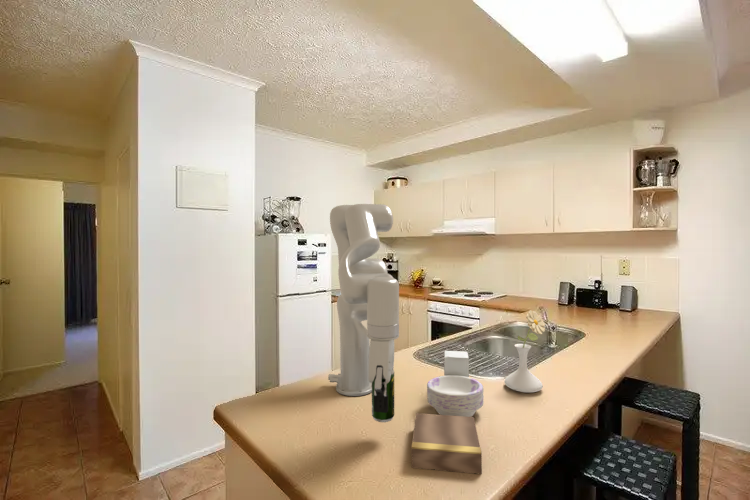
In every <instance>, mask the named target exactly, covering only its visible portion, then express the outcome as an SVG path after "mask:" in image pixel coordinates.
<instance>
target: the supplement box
mask: <svg viewBox="0 0 750 500" xmlns="http://www.w3.org/2000/svg"><path fill="white" fill-rule="evenodd" d="M443 352H444V355H443V356H444V357H443V358H444V359H443V361H444V362H443V365H444V366H443V367H444V368H443V373H444V374H443V376H447V375H457V376H465V377H469V378H470V367H469V366H470V362H469V361H470V357H469V353H468V351H462V350H461V351H459V350H444V351H443Z"/></svg>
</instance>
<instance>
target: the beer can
mask: <svg viewBox="0 0 750 500" xmlns="http://www.w3.org/2000/svg"><path fill="white" fill-rule="evenodd" d="M382 381H385V379H382ZM382 387H383V388H384V384H382ZM374 389H375V378H374V380H373V382H372V392H371V416H372V418H373V420H374V421H376V422H378V423H388V422H390V421H392V420H393V419H394V416H395V370H394V368H393V369H392V374H391V379H390V382H389V383H387V395H388V412H387V413H382V412H375V411H374Z"/></svg>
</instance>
